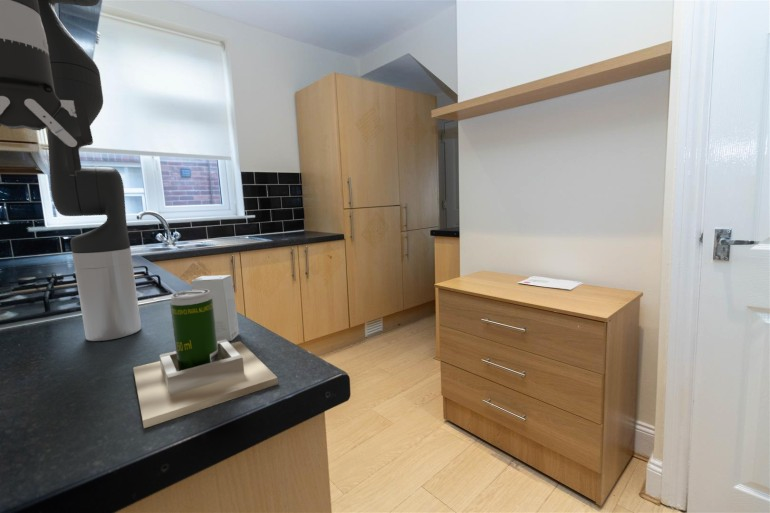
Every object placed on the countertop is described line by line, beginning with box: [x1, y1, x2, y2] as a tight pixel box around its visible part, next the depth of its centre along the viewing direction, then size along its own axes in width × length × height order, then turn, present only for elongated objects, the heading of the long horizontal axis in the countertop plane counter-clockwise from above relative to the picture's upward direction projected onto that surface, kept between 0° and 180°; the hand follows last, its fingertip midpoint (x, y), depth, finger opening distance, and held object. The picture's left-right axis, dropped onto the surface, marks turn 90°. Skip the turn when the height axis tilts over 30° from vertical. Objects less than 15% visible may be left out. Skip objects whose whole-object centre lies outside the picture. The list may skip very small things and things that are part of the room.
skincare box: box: [190, 274, 240, 342], centre depth 70 cm, size 6×4×12 cm
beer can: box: [169, 289, 219, 371], centre depth 53 cm, size 5×5×12 cm
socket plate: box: [132, 339, 279, 429], centre depth 54 cm, size 18×16×4 cm
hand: (32, 175), depth 50 cm, fingers open, 8 cm apart
